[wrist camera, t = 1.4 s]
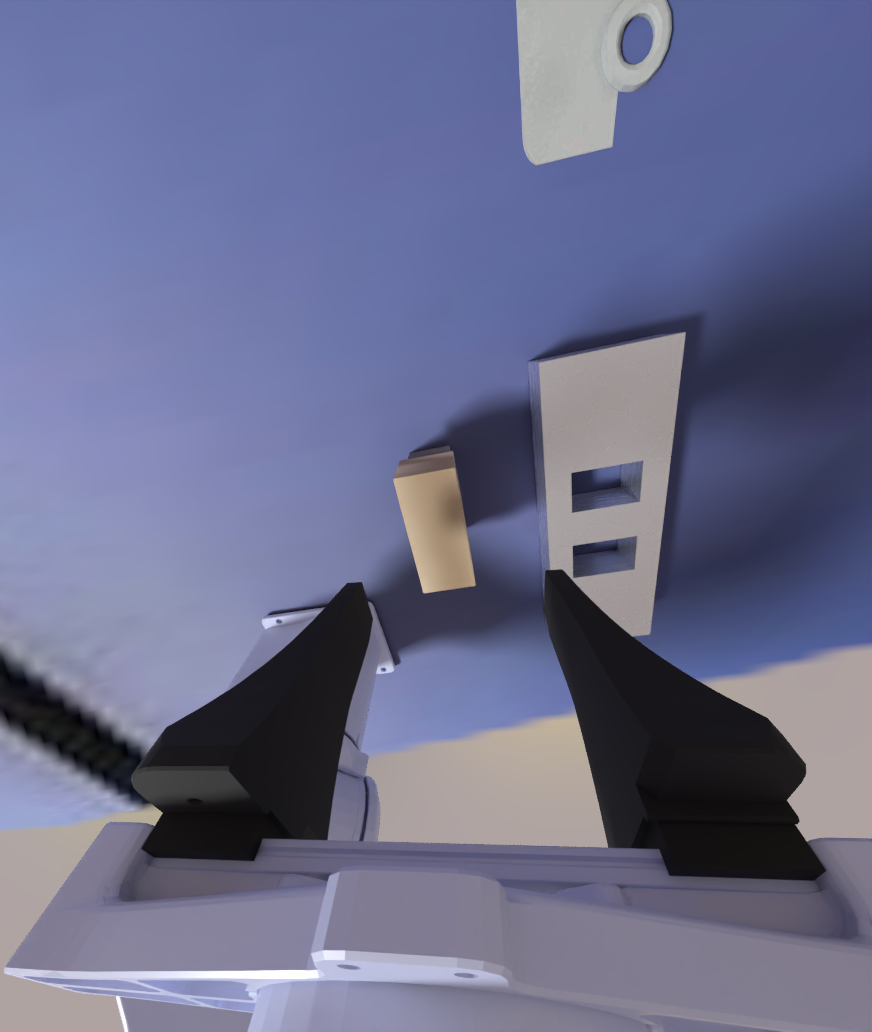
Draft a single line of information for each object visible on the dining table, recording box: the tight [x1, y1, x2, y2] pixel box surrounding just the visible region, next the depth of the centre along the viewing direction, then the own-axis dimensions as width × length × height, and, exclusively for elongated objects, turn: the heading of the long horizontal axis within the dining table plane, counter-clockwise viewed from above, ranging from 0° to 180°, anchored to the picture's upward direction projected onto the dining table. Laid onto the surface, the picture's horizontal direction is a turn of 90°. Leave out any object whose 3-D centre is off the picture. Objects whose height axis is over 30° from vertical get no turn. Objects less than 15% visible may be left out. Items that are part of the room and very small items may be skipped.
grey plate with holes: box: [527, 332, 686, 636], centre depth 22 cm, size 7×20×2 cm, turn 11°
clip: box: [393, 445, 476, 593], centre depth 20 cm, size 3×7×6 cm, turn 11°
